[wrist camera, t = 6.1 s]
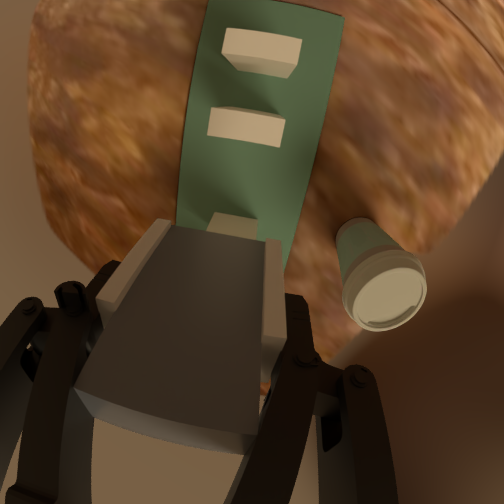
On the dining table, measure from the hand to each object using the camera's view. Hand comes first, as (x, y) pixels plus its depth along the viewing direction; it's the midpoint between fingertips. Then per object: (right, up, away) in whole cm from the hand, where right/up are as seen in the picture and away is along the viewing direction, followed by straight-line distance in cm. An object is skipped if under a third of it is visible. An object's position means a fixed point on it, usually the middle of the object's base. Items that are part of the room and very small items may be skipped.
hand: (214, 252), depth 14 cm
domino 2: (+2, +13, +11) cm, 18 cm away
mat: (+1, +9, +15) cm, 17 cm away
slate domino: (0, 0, 0) cm, 0 cm away
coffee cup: (+15, +2, +18) cm, 23 cm away
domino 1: (+3, +18, +8) cm, 20 cm away
